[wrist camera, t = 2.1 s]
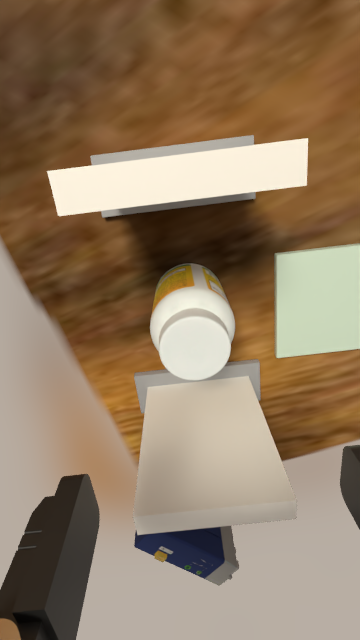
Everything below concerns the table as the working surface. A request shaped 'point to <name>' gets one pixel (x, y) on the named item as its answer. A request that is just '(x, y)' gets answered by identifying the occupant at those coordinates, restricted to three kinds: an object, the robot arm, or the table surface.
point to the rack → (235, 377)
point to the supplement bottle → (192, 322)
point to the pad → (317, 300)
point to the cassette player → (195, 551)
